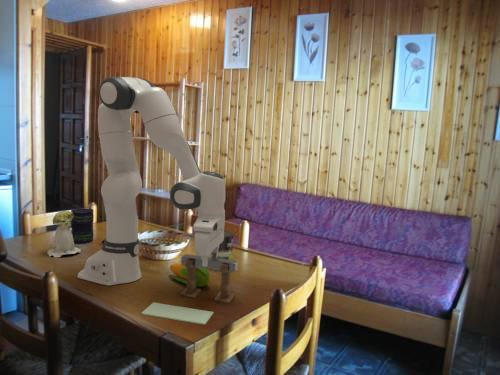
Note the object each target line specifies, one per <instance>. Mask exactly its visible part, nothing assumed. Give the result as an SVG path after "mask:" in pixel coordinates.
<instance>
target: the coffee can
mask: <svg viewBox="0 0 500 375" xmlns="http://www.w3.org/2000/svg"><path fill="white" fill-rule="evenodd" d="M234 235H235V234H234V233H233V232H231V231H228V230H224V240H223V242H222V243H221V244H219V249H218V256H217V257H216V258H220V259H227V260H233V248H234V247H233V245H234V237H235V236H234ZM211 256H212V252H210V253H209V254H208V257H211ZM211 270H212V271H215V270H214V269H211ZM217 271H220V270H217Z"/></svg>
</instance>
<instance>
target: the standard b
mask: <svg viewBox="0 0 500 375" xmlns="http://www.w3.org/2000/svg"><path fill="white" fill-rule="evenodd" d="M220 273H221V276H220V278H221V279H220V291H219V292H218V294H217V295H216V296H215V298H214V301H215V302H222V303H228V304H230V303H231V301H232V300H233V299H234V297H235V293H231V292H230V287H231V272H228V265H225V264H221V266H220Z"/></svg>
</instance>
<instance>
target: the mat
mask: <svg viewBox="0 0 500 375" xmlns="http://www.w3.org/2000/svg"><path fill="white" fill-rule="evenodd" d="M141 315H145V316H149V317H156V318H162V319H167V320H175V321H180V322H186V323H190V324H192V323H193V324H198V325H206V324H207V323H208V321H210V319H211V317H212V316H213V315H214V311H208V310H203V309H197V308H190V307H184V306H177V305H173V304H172V305H171V304H166V303H165V304H164V303H160V302H152V303H151V304H150V305H149V306H147V308H145V309H144V310H143V311H142V312H141Z"/></svg>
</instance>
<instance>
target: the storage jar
mask: <svg viewBox="0 0 500 375" xmlns="http://www.w3.org/2000/svg"><path fill="white" fill-rule="evenodd" d="M70 212H73V214H74V217H73V219H72V220H71V232H72V236H73V241H74V245H87V244H86V243H89V244H91V243H90V242H92V241H93V242H94V229H93V228H94V209H92V208H87V207H86V208H85V207H83V208H79V207H78V208H72V209H71V210H70ZM93 242H92V243H93Z"/></svg>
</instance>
